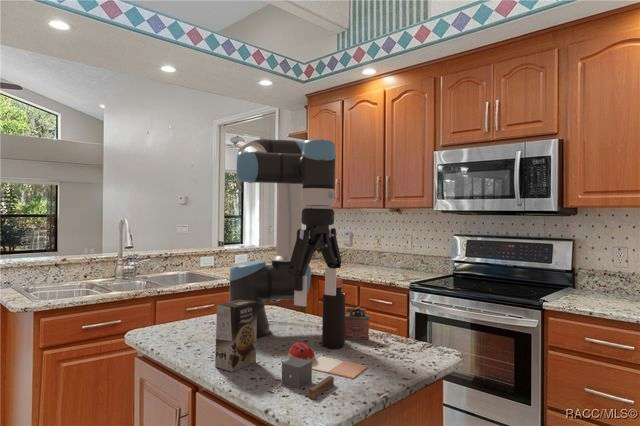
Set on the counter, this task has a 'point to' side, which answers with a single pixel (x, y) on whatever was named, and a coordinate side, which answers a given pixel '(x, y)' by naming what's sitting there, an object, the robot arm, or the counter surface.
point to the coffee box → (236, 334)
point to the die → (296, 373)
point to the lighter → (356, 325)
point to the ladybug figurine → (301, 352)
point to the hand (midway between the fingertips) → (316, 300)
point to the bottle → (334, 319)
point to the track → (336, 367)
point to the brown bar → (321, 387)
